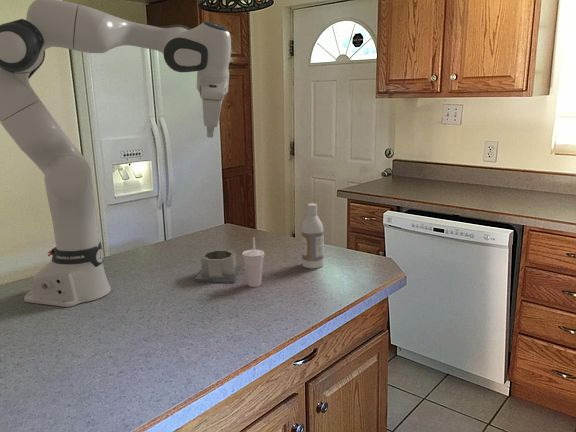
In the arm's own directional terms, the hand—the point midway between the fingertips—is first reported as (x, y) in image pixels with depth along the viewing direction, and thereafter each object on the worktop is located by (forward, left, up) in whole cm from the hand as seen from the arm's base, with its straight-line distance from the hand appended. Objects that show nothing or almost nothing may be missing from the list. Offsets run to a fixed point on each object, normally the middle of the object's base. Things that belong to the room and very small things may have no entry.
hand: (210, 130), depth 146 cm
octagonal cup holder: (+2, -5, -43) cm, 44 cm away
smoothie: (+14, -12, -44) cm, 47 cm away
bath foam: (+30, +5, -44) cm, 53 cm away
